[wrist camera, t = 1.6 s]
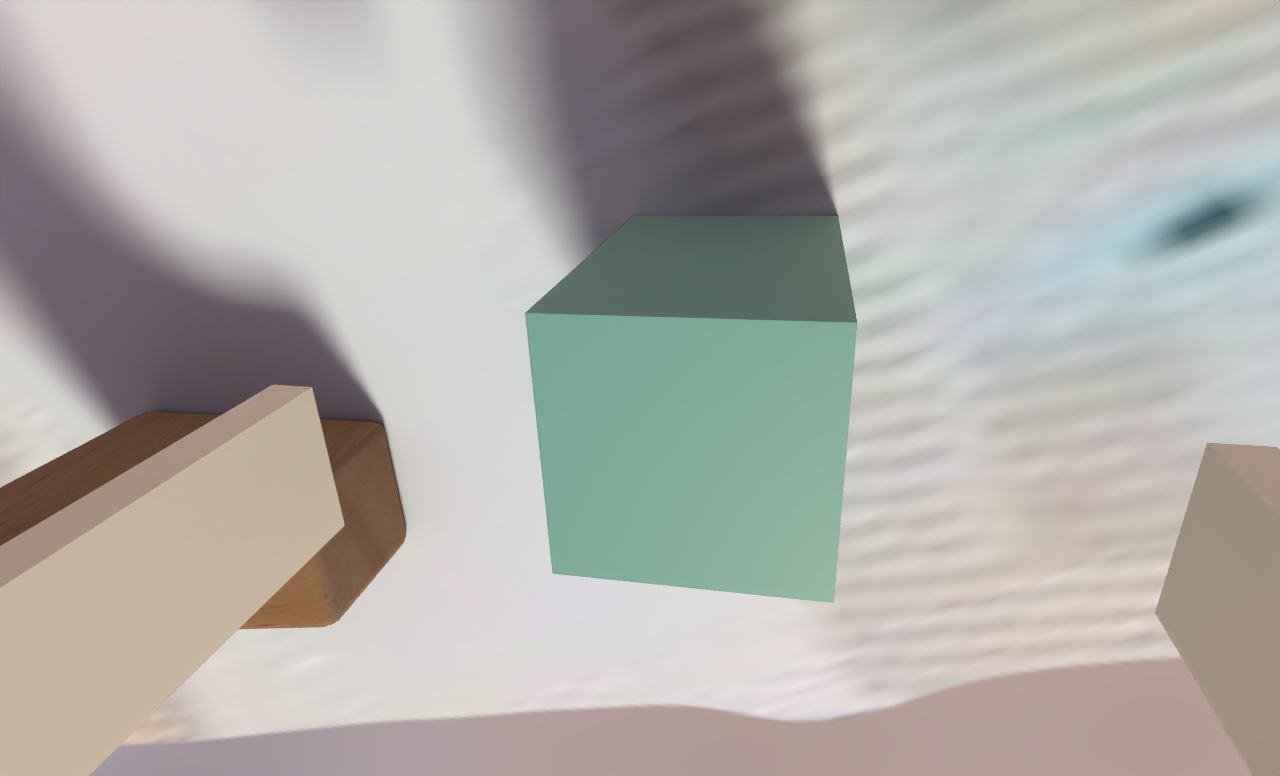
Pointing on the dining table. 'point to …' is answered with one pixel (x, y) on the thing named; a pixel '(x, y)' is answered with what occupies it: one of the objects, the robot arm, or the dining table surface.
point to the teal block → (699, 404)
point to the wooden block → (320, 582)
